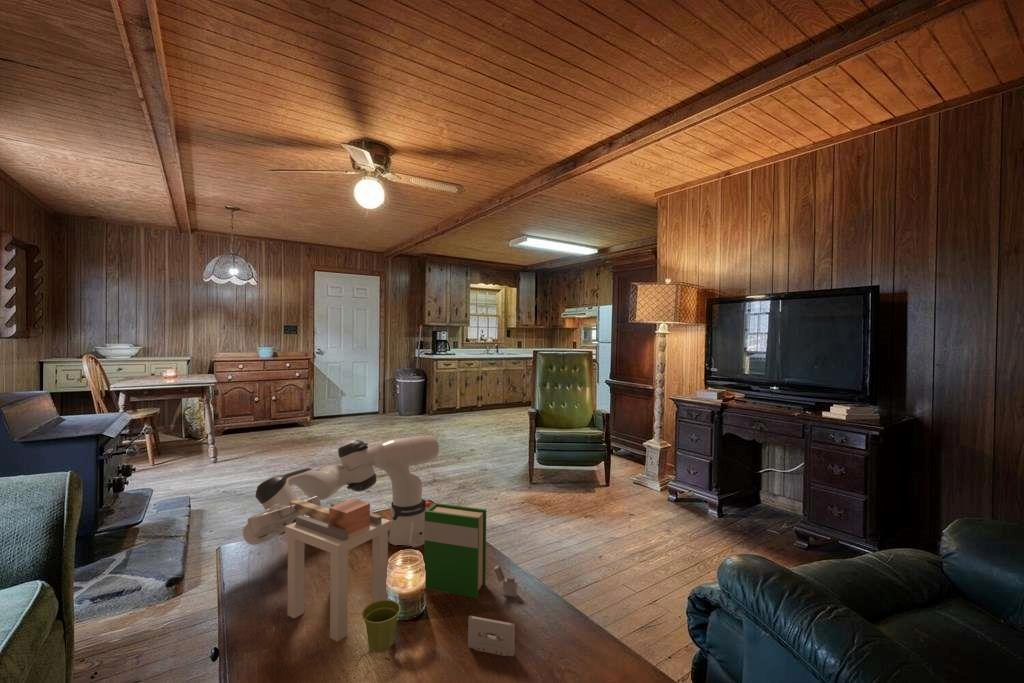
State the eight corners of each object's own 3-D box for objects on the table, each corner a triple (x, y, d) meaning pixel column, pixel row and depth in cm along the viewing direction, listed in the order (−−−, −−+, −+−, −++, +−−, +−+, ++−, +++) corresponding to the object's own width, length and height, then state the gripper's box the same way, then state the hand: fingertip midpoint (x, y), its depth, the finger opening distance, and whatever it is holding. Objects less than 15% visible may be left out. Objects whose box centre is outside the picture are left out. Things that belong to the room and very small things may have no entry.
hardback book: (485, 585, 140) (486, 509, 139) (477, 598, 133) (478, 518, 132) (434, 575, 145) (435, 502, 144) (424, 588, 138) (424, 511, 137)
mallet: (280, 512, 132) (281, 492, 132) (305, 504, 139) (305, 485, 139) (346, 535, 118) (346, 513, 118) (369, 524, 125) (370, 503, 125)
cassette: (467, 649, 111) (467, 618, 111) (469, 644, 113) (469, 614, 113) (513, 658, 108) (513, 627, 108) (515, 653, 110) (515, 622, 110)
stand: (284, 615, 123) (285, 519, 123) (338, 584, 139) (339, 499, 139) (337, 643, 112) (338, 537, 112) (389, 606, 128) (390, 513, 128)
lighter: (517, 594, 135) (517, 568, 135) (515, 597, 133) (516, 571, 133) (495, 590, 137) (495, 564, 137) (493, 593, 135) (493, 567, 135)
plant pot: (363, 662, 106) (363, 626, 106) (360, 637, 115) (360, 604, 115) (403, 651, 110) (403, 616, 110) (397, 628, 118) (397, 596, 118)
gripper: (309, 517, 148) (333, 504, 142) (247, 541, 131) (271, 527, 125) (303, 499, 150) (327, 485, 144) (241, 521, 132) (265, 506, 126)
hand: (301, 505), depth 134 cm, fingers closed on mallet, 2 cm apart
